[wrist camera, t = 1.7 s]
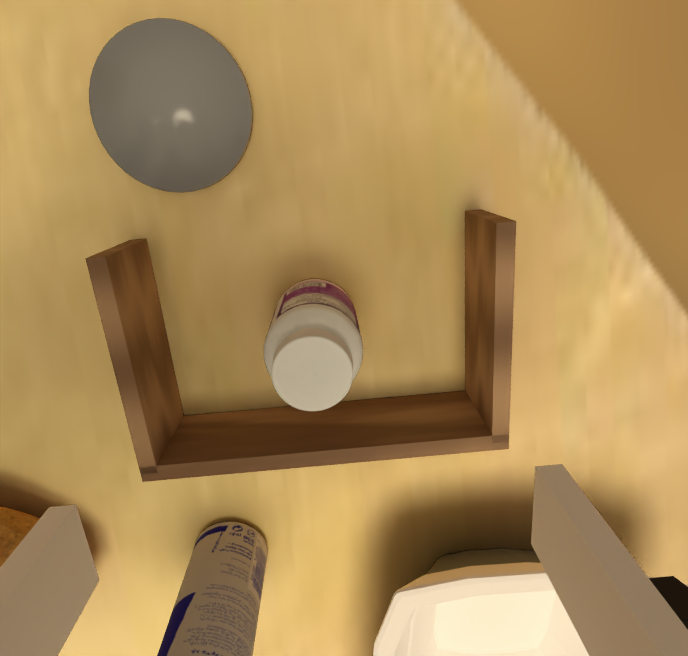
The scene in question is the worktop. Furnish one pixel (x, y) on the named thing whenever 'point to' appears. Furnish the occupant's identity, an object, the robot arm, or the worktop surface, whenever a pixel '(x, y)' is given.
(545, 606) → the bowl
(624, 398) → the worktop surface
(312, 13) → the worktop surface
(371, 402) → the wooden u-shaped frame
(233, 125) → the coaster
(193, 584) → the beverage can
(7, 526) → the potato
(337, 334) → the pill bottle
